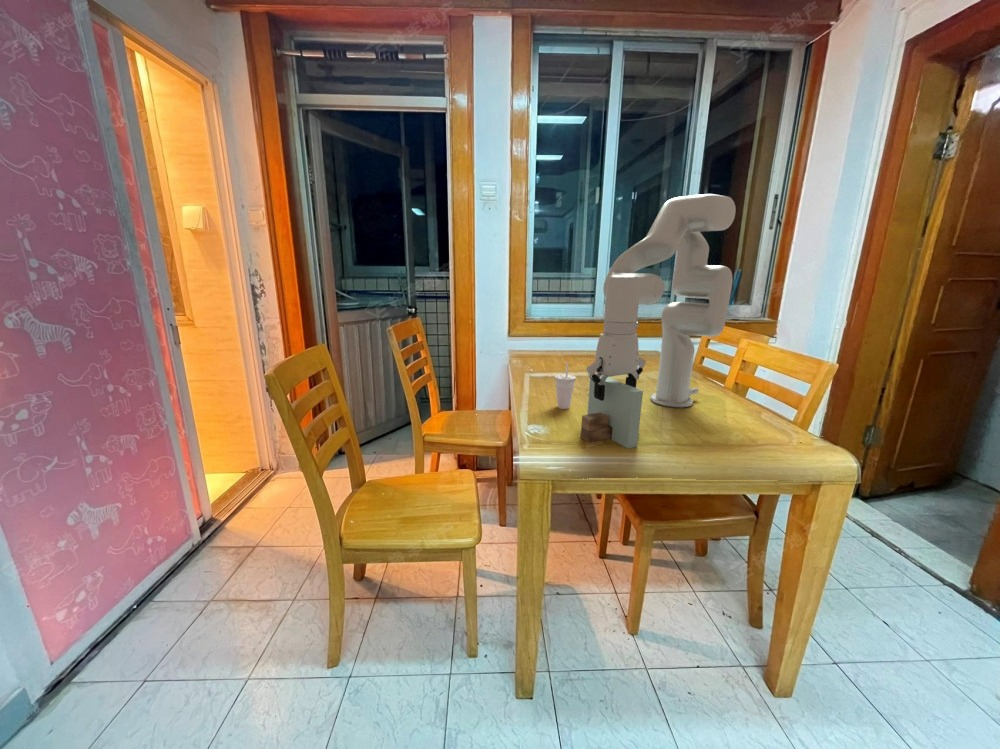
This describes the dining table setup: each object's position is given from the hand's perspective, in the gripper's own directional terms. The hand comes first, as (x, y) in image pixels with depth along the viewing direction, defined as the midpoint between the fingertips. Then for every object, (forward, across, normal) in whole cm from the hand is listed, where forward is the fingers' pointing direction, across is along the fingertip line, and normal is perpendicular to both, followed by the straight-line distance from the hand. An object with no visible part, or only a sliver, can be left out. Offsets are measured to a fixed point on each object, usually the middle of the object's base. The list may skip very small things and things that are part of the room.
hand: (614, 396), depth 101 cm
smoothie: (+11, 0, -23) cm, 25 cm away
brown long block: (+10, +1, 0) cm, 10 cm away
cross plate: (+10, +1, 0) cm, 10 cm away
